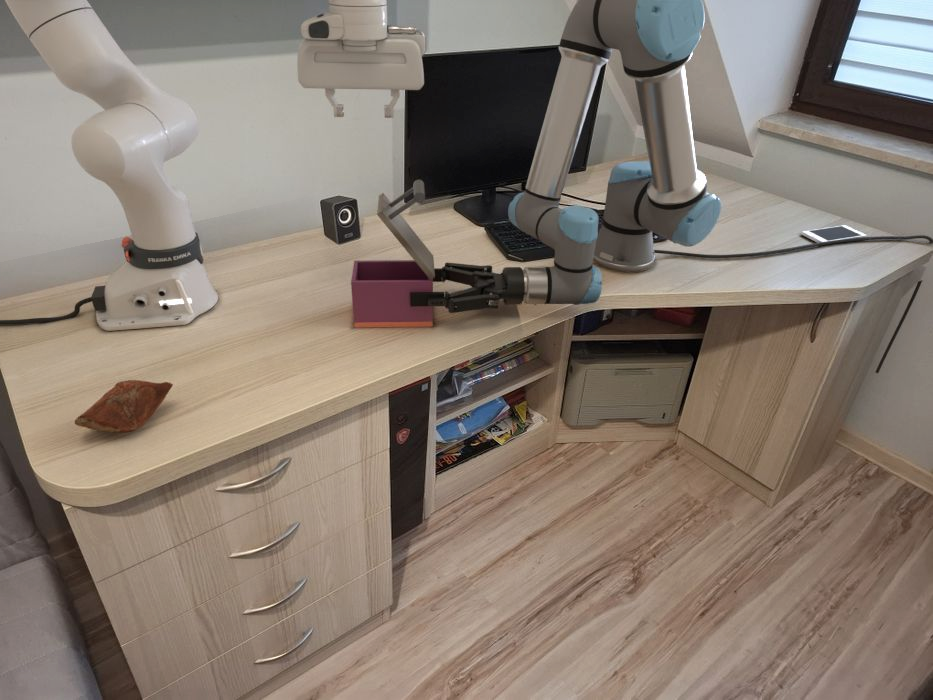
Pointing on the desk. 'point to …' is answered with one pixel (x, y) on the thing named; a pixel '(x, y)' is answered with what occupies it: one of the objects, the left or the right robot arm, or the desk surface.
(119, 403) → the fossil
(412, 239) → the lid
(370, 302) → the chest
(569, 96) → the right robot arm
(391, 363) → the desk surface
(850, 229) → the smartphone
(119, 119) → the left robot arm
